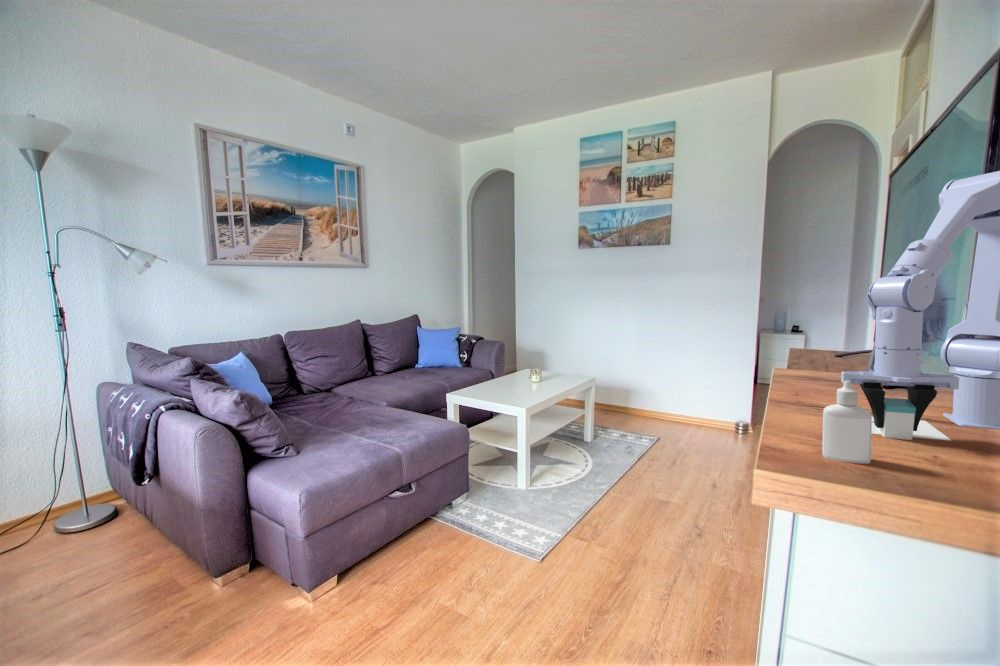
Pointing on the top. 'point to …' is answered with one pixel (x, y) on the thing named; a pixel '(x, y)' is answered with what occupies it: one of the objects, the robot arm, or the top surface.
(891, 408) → the white and teal box
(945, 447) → the top surface
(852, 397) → the eye dropper bottle
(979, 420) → the robot arm
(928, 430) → the paper
